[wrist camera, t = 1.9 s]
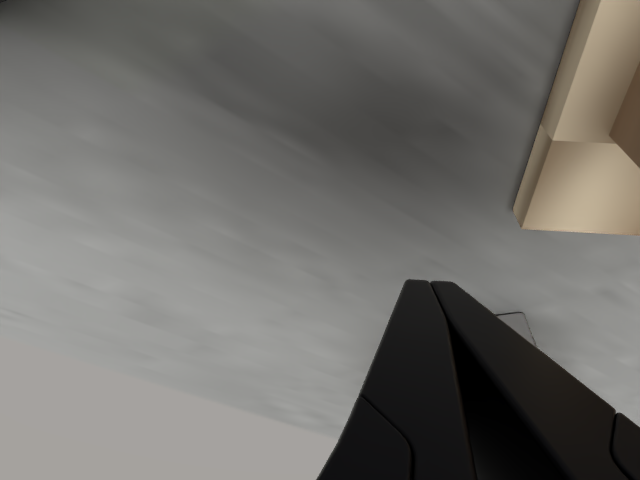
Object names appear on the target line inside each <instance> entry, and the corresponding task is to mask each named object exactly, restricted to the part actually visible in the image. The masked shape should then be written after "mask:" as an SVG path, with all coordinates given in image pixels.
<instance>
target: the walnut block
mask: <svg viewBox="0 0 640 480" xmlns="http://www.w3.org/2000/svg"><path fill="white" fill-rule="evenodd" d="M609 136H610V137H611V138H612V139H613V140H614V142H615V143H616V144H617V145H618V146H619V147H620V148H621V149H622V150H623V151H624V152H625V153H626V154H627V155H628V156H629V158H630V159H631V160H632V161H633V162H634V163H635V164H636V165H637V166H638V167H639V168H640V62H639V64H638V67H637V69H636V72H635V74H634V76H633V79H632V81H631V84H630V86H629V88H628V91H627V93H626V95H625V98H624V100H623V103H622V105H621V107H620V110H619V112H618V115H617V117H616V119H615V122H614V124H613V126H612V129H611V131H610V134H609Z"/></svg>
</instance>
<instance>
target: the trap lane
mask: <svg viewBox="0 0 640 480" xmlns="http://www.w3.org/2000/svg"><path fill="white" fill-rule="evenodd" d="M639 62H640V0H580V3H579V6H578V9H577V13H576V16H575V19H574V22H573V25H572V28H571V31H570V34H569V37H568V40H567V43H566V46H565V49H564V53H563V56H562V59H561V62H560V65H559V68H558V71H557V74H556V77H555V80H554V83H553V86H552V90H551V93H550V96H549V99H548V102H547V105H546V108H545V111H544V114H543V117H542V120H541V123H540V127H539V130H538V133H537V136H536V139H535V142H534V145H533V148H532V151H531V154H530V157H529V160H528V164H527V167H526V170H525V173H524V176H523V179H522V182H521V185H520V188H519V191H518V194H517V197H516V201H515V204H514V207H513V212H514V214H515V216H516V218H517V220H518V223H519V225H520V227H521V229H529V230H547V231H565V232H583V233H601V234H620V235H638V236H640V168H639V167H638V166H637V165H636V164H635V163H634V162H633V161H632V160H631V159H630V158H629V156H628V155H627V154H626V153H625V152H624V151H623V150H622V149H621V148H620V147H619V146H618V145H617V144H616V143H615V142H614V140H613V139H612V138H611V137H610V136H609V134H610V131H611V129H612V126H613V124H614V122H615V119H616V117H617V115H618V112H619V110H620V107H621V105H622V103H623V100H624V98H625V95H626V93H627V91H628V88H629V86H630V84H631V81H632V79H633V76H634V74H635V72H636V69H637V67H638V64H639Z"/></svg>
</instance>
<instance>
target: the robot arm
mask: <svg viewBox="0 0 640 480" xmlns="http://www.w3.org/2000/svg"><path fill="white" fill-rule="evenodd" d="M3 1H6V0H0V3H1V2H3ZM316 480H640V427H639V426H637V425H636V424H635V423H633V422H632V421H631V420H630V419H628V418H627V417H626V416H625V415H623V414H622V413H617V414H616V410H615V409H614V408H613V407H612V406H610V405H609V404H608V403H607V402H605V401H604V400H603V399H601V398H600V397H599V396H598V395H596V394H595V393H594V392H593V391H591V390H590V389H589V388H587V387H586V386H585V385H584V384H582V383H581V382H580V381H579V380H577V379H576V378H575V377H574V376H572V375H571V374H570V373H568V372H567V371H566V370H565V369H563V368H562V367H561V366H560V365H558V364H557V363H556V362H554V361H553V360H552V359H551V358H549V357H548V356H547V355H546V354H544V353H543V352H542V351H540V350H539V349H538V348H537V347H535V346H534V345H533V344H532V343H530V342H529V341H528V340H526V339H525V338H524V337H523V336H521V335H520V334H519V333H518V332H516V331H515V330H514V329H512V328H511V327H510V326H509V325H507V324H506V323H505V322H504V321H502V320H501V319H500V318H498V317H497V316H496V315H495V314H493V313H492V312H491V311H490V310H488V309H487V308H486V307H484V306H483V305H482V304H481V303H479V302H478V301H477V300H476V299H474V298H473V297H472V296H470V295H469V294H468V293H467V292H465V291H464V290H463V289H462V288H460V287H459V286H458V285H456V284H455V283H453V282H447V281H432V282H430V283H429V282H428V281H426V280H411V279H408V280H406V281H405V283H404V285H403V288H402V290H401V293H400V295H399V298H398V300H397V302H396V305H395V307H394V310H393V312H392V315H391V317H390V320H389V322H388V325H387V327H386V329H385V332H384V334H383V337H382V339H381V342H380V344H379V347H378V349H377V352H376V354H375V356H374V359H373V361H372V364H371V366H370V369H369V371H368V374H367V376H366V379H365V381H364V384H363V386H362V388H361V391H360V393H359V396H358V398H357V400H356V402H355V404H354V407H353V409H352V412H351V414H350V417H349V419H348V421H347V423H346V425H345V427H344V430H343V432H342V434H341V436H340V438H339V440H338V443H337V444H336V446H335V448H334V450H333V452H332V453H331V455H330V457H329V458H328V460H327V462H326V464H325V465H324V467H323V469H322V471H321V473H320V474H319V476H318V478H317V479H316Z"/></svg>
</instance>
